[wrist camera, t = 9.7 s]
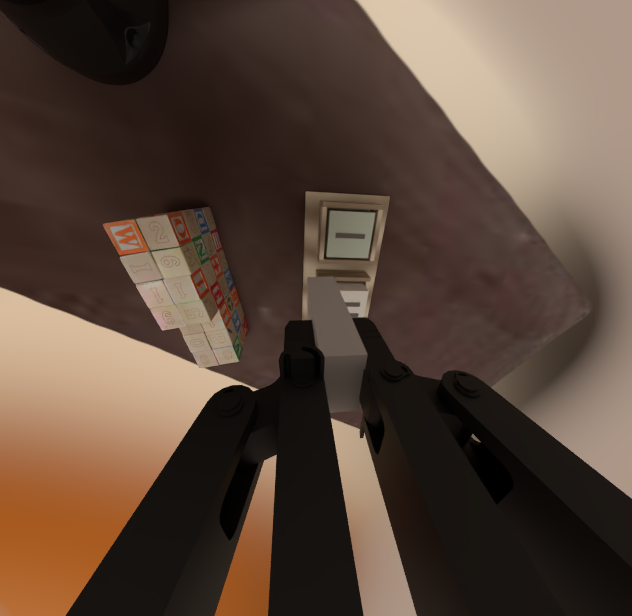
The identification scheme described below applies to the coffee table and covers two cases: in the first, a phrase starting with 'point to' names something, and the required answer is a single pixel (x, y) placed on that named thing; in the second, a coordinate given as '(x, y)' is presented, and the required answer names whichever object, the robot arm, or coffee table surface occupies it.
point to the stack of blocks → (185, 280)
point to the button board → (315, 241)
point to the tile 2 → (354, 297)
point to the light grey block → (348, 233)
